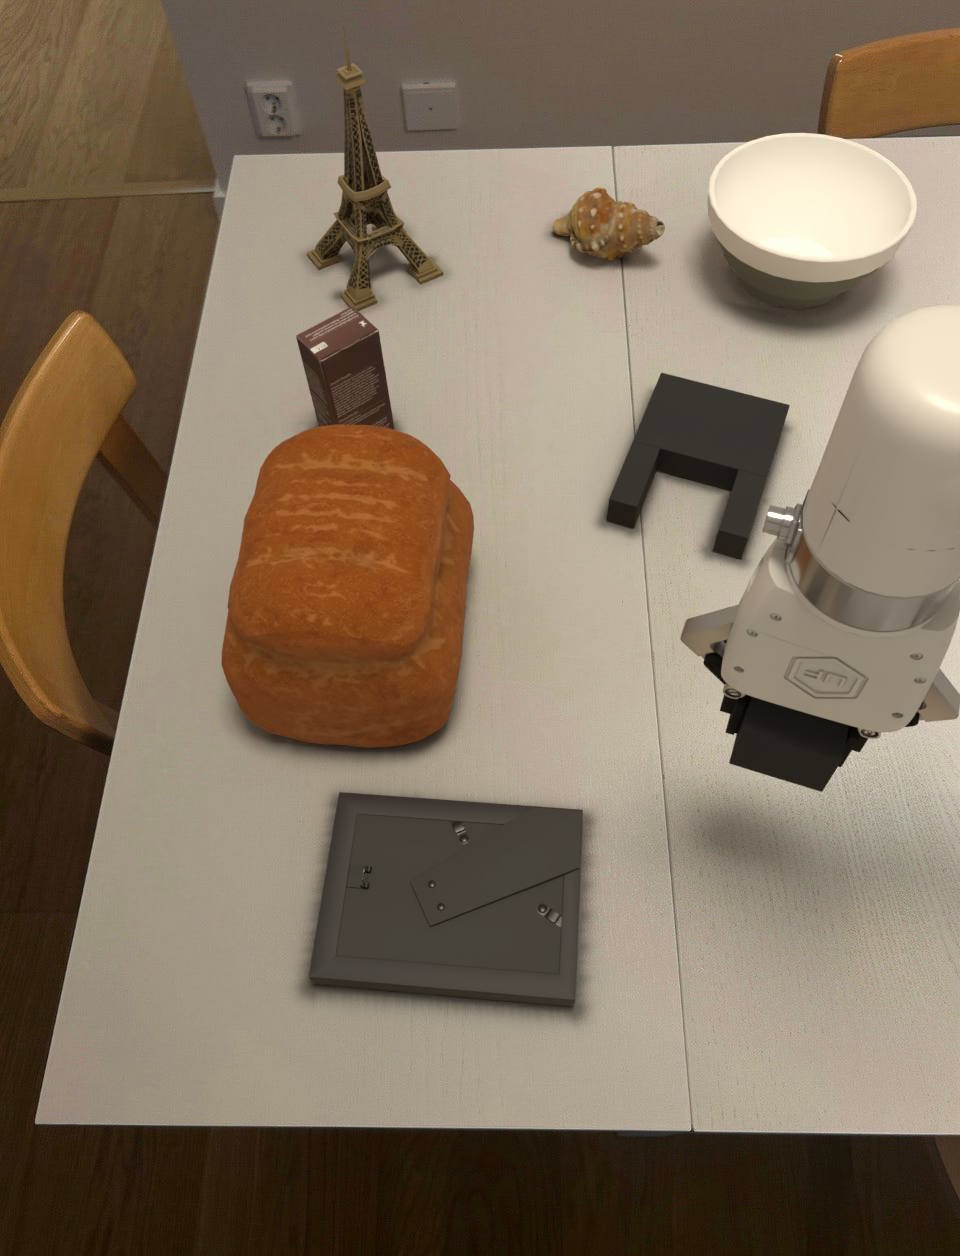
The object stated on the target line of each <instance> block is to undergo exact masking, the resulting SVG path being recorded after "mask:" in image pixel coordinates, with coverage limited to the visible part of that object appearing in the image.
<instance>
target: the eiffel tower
mask: <svg viewBox="0 0 960 1256" xmlns="http://www.w3.org/2000/svg"><path fill="white" fill-rule="evenodd" d="M342 27H343V35H344V36H343V37H344V49H345V61H346V62H345V63H346V65H344V66H340V67H339V68H336V72H337V74H336V76H335V77H334V80H335V81H336V82H337V83H338V84H339V85H340V86H341V87H342V91H343V93H342V94H343V96H342V97H343V99H342V100H343V137H344V138H343V147H344V148H343V149H344V150H343V165H344V166H343V175H338V178H337V185H338V186H339V187H340V189H341V190H342V193H341V202H340V206H339V209H338V211H336V212H333V216H334V217H335V219H336V220H335V221H334V222H333V224H331V226H330V227H329V228H328V229H327V231H326V232H325V233H324V235H322V237H321V238H320V240H318V241H317V243H316V245H315V247H314V249H312V250H310V251H309V250H308V251H307V252H306V256H307V257H308V258H309V260H310V261H311V262H312V264H314V266H315V267H316V268H317V269H318V270H322V269H324V268H326V267H329V266H331V265H333V264H336V263H339V262H341V261H343V257H342V254H341V252H340V251H341V249H342V248H343V247H344V245H345V243H346V242H347V243H348V245H349V247H350V249H351V250H352V252H353V254H354V255H355V260H354V263H353V266H352V269H351V272H350V275H349V278H348V281H347V284H346V289H344V290H343V291H344V293H341V294H340V297H341V299H342V300H343V301H344V303H345V304H346V305H347V306H348V308H349V307H351V306H353V307H354V308H355V309H357V310H358V311H359V312H360V311H361V310H364V309H366V308H369V307H371V306H373V305H375V304H377V303H378V299H377V298H376V294H375V293H374V292H373V291H372V283H371V282H372V281H371V274H370V273H371V272H370V263H369V258H370V257H371V256H372V255H373V254H374V253H376V251H378V250H379V249H380V248H382V247H384V246H393V247H396V248H397V249H398V251H400V253H401V254H402V255H403V256H404V257H405V259H406V260H407V262H408V263H407V264H406V268H407V269H406V270H407V271H408V272H409V273H410V275H412V276H413V278H414V279H415V280H416V281H417V283H419V284H420V285H422V284H424V283H427V282H429V281H431V280H434V279H436V278H438V277H441V276H443V275H444V271H443V270H442V269H441V267H440V266H438V264H437V263H436V262H435V261H434V260H433V259H432V258H431V256H430V257H428V255H427V254H426V253H425V252H424V251H423V249H422V248H421V247H420V246H419V245H418V244H417V243H416V242H415V241H414V240H413V238H412V237H410V235H409V234H408V233H407V230H406V229H405V228H404V226H405V222H404V221H403V220H402V219H401V218H400V217H399V216H398V215H397V214H396V211H394V207H393V205H392V204H393V203H392V201H391V199H390V196H389V193H388V190H390V189H392V186H391V183H390V181H389V179H387V178H386V177H385V176H384V175H382V171H381V167H380V163H379V159H378V156H377V152H376V149H375V144H374V141H373V137H372V133H371V127H370V124H369V119H368V115H367V111H366V107H365V103H364V98H363V93H362V90H361V87H362V86H363V85H365V84H367V83H368V81H367V80H366V79H365V77H364V76H363V74H364V72H363V70H361V69H360V68H359V67H358V66H357V65H356V64H355V63H354V62H353V63H352V62H351V57H350V52H349V46H348V40H347V35H346V28H345V23H344V22H343V23H342ZM368 225H371V230H372V231H370V232H368Z"/></svg>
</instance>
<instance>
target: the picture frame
mask: <svg viewBox="0 0 960 1256" xmlns="http://www.w3.org/2000/svg"><path fill="white" fill-rule="evenodd" d="M583 819H584V810H583V809H579V808H578V809H576V808H565V807H564V808H562V807H551V806H550V807H549V806H535V805H523V804H510V803H509V804H508V803H496V802H495V803H494V802H484V801H483V802H481V801H469V800H467V801H466V800H465V801H464V800H454V799H439V798H425V797H413V796H401V795H400V796H398V795H383V794H373V793H372V794H371V793H370V794H369V793H359V792H358V793H357V792H346V791H345V792H344V791H343V792H342V791H339V792H338V798H337V804H336V809H335V816H334V821H333V827H332V834H331V840H330V846H329V851H328V857H327V863H326V869H325V874H324V875H325V876H324V883H323V889H322V894H321V900H320V907H319V913H318V918H317V924H316V930H315V936H314V942H313V948H312V955H311V959H310V966H309V967H310V968H309V973H308V978H309V979H310V981H311V983H312V984H313V985H320V986H330V987H331V986H333V987H341V988H342V987H343V988H355V989H366V990H376V991H377V990H378V991H388V992H389V991H390V992H398V993H399V992H401V993H410V994H423V995H432V996H433V995H435V996H446V997H457V998H466V999H467V998H468V999H480V1000H491V1001H503V1002H514V1003H526V1004H535V1005H536V1004H537V1005H549V1006H558V1007H559V1006H560V1007H561V1006H562V1007H571V1008H573V1007H574V1006H575V1002H576V991H577V990H576V989H577V988H576V986H577V968H578V967H577V964H578V943H579V942H578V939H579V919H580V918H579V915H580V892H581V870H582V869H581V868H582V867H581V865H582V845H583V844H582V843H583V841H582V840H583Z"/></svg>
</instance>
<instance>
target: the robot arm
mask: <svg viewBox="0 0 960 1256" xmlns="http://www.w3.org/2000/svg"><path fill="white" fill-rule="evenodd" d="M803 499H804V500H803V502H802V503H796V504H795V506H794V507H791V506H789V505H788V506H787V505H786V507H785V508H784V507H781V506H776V505H773V504H769V508H768V510H767V514H766V516H765V520H764V523H763V527H762V530H761V532H762V533H763V534H768V535H772V536H776V538H775V539H774V540H773V541H772V543H771V544H770V545H769V547H768V548H767V550H766V551H765V553H763V556H762V557H761V558H760V560H759V563H758V564H757V566H756V568H755V569H754V572H753V573H752V576H751V577H750V579H749V581H748V583H747V585H746V587H745V590H744V592H743V594H742V596H741V599H740V601H739V603H738V604H736V605H733V606H728V607H724V608H722V609H718V610H715V611H711V612H706V613H703V614H700V615H695V616H692V617H690V618H687V619H685V621H684V624H683V628H682V631H681V634H680V638H679V639H680V641H681V643H682V644H683V645H685V646H686V647H687V648H688V649H689V650H690V651H691V652H692V653H694V654H695V655H696V656H697V657H701V658H703V662H702V663H703V666H704V667H705V668H706V669H707V670H708V671H709V672H710V673H711V674H713V675H714V676H715V677H716V678H717V679H718V680H719V681H720V682H721V684H723V688H722V694H723V696H722V701H721V704H720V707H719V711H720V712H722V713H726V714H728V715H729V717H728V721H727V725H726V728H725V734H728V735H732V736H735V734H737V733H738V731H739V729H740V726H741V724H742V721H743V719H744V716H745V714H746V712H747V709H748V706H749V703H750V699H751V696H752V697H755V698H758V699H761V700H764V701H768V702H771V703H774V704H778V705H781V706H784V707H788V708H791V709H794V710H797V711H801V712H804V713H808V714H811V715H815V716H818V717H821V718H825V719H828V720H832V721H836V722H839V723H843V724H846V725H849V729H848V734H847V739H846V744H845V749H844V754H843V759H842V761H841V763H840V764H839V766H838V767H837V768H842V766H843V765H844V763H845V762H846V761H847V759H848V757H849V756H850V754H851V752H852V751H854V752H855V753H860V752H861V751H862V750H863V749H864V746H865V745H866V744H867V742H868V741H869V740H877V739H880V737H881V736H882V733H894V732H895V733H896V732H898V731H900V730H902V729H904V728H910V727H911V728H912V727H915V726H917V725H919V722H920V721H924V722H925V723H930V722H940V721H941V722H943V721H951V720H952V721H953V720H956V719H958V718H959V715H960V693H959V691H958V689H956V688H955V686H954V685H953V683H952V682H951V681H950V679H948V677H947V675H945V673H944V671H942V669H941V665H942V664H943V661H944V659H945V657H946V655H947V652H948V650H949V648H950V645H951V643H952V640H953V637H954V634H955V631H956V629H957V625H958V620H959V617H960V304H935V305H929V306H923V307H920V308H917V309H913V310H911V311H908V312H906V313H904V314H902V315H900V316H897V317H895V318H894V319H892V320H891V321H889V322H888V323H887V324H886V325H884V326H883V327H882V328H881V329H880V330H879V331H878V332H877V333H876V334H875V335H874V336H873V337H872V338H871V339H870V341H869V342H868V344H867V345H866V347H865V348H864V350H863V352H862V354H861V356H860V358H859V360H858V363H857V365H856V366H855V370H854V372H853V375H852V377H851V380H850V382H849V385H848V388H847V390H846V393H845V396H844V399H843V401H842V404H841V407H840V409H839V412H838V415H837V417H836V420H835V422H834V425H833V428H832V431H831V433H830V436H829V439H828V441H827V443H826V447H825V448H824V452H823V454H822V457H821V460H820V463H819V465H818V468H817V470H816V473H815V475H814V478H813V480H812V483H811V486H810V488H808V489H807V491H806V493H805V496H804V498H803Z"/></svg>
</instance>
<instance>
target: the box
mask: <svg viewBox="0 0 960 1256" xmlns="http://www.w3.org/2000/svg"><path fill="white" fill-rule="evenodd" d="M380 335H381V334H380V330H379V329H378V328H377V327H376V326H375V325H374V324H373V323H371V322H370V321H369V320H368V319H367V318H366V317H365V316H364V315H363V314H362V313H361V312H360V310H359V311H358V310H357V309H355V308H354V307H353V306H351V307H349V306H348V307H347V308H345V309H343V310H342V311H340V312H338V313H336V314H334V315H332V316H330V317H328V318H327V319H325V320H323V321H320V322H319V323H317V324H315V325H313V326H311V327H310V328H307V329H305V330H304V331H302V332H300V333H298V334H296V335H295V338H296V342H297V347H298V350H299V354H300V358H301V362H302V366H303V369H304V373H305V378H306V382H307V385H308V389H309V394H310V397H311V402H312V406H313V409H314V413H315V417H316V421H317V425H318V426H317V427H319V426H327V425H336V424H342V425H370V426H381V427H385V428H390V429H394V430H396V429H395V422H394V418H393V411H392V404H391V398H390V392H389V385H388V378H387V374H386V368H385V361H384V355H383V350H382V349H383V348H382V342H381V336H380Z"/></svg>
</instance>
